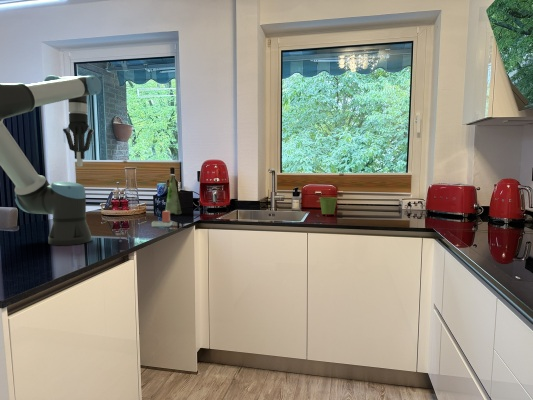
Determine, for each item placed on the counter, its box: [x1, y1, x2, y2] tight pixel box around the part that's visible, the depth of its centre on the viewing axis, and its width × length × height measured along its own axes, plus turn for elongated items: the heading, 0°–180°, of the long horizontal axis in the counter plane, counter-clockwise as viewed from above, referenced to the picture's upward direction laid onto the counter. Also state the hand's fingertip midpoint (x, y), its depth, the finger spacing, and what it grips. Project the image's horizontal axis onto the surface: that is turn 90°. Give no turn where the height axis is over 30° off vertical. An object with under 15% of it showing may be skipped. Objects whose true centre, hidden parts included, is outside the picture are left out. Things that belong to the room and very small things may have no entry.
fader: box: [161, 210, 171, 222], centre depth 192 cm, size 5×3×5 cm, turn 5°
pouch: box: [164, 173, 182, 215], centre depth 235 cm, size 11×12×25 cm
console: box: [151, 220, 173, 228], centre depth 192 cm, size 5×9×2 cm, turn 95°
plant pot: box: [318, 196, 339, 215], centre depth 237 cm, size 12×12×11 cm
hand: (79, 166), depth 173 cm, fingers closed
